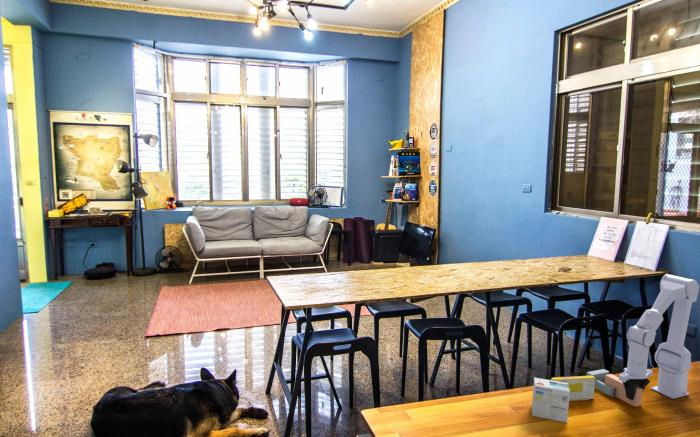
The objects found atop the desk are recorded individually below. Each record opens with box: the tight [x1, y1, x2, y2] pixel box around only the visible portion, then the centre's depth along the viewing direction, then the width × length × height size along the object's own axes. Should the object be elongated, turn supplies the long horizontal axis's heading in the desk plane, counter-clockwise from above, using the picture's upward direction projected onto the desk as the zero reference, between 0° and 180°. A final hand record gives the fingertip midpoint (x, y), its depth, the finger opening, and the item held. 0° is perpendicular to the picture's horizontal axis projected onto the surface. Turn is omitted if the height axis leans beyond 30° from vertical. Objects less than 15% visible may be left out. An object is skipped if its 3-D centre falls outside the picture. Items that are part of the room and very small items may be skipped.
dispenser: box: [586, 368, 616, 398], centre depth 167 cm, size 9×10×5 cm
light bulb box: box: [531, 376, 570, 424], centre depth 147 cm, size 11×7×11 cm, turn 71°
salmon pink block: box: [605, 373, 644, 407], centre depth 161 cm, size 3×12×6 cm, turn 22°
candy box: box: [550, 375, 595, 402], centre depth 158 cm, size 16×2×8 cm, turn 99°
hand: (633, 397), depth 157 cm, fingers closed on salmon pink block, 3 cm apart
